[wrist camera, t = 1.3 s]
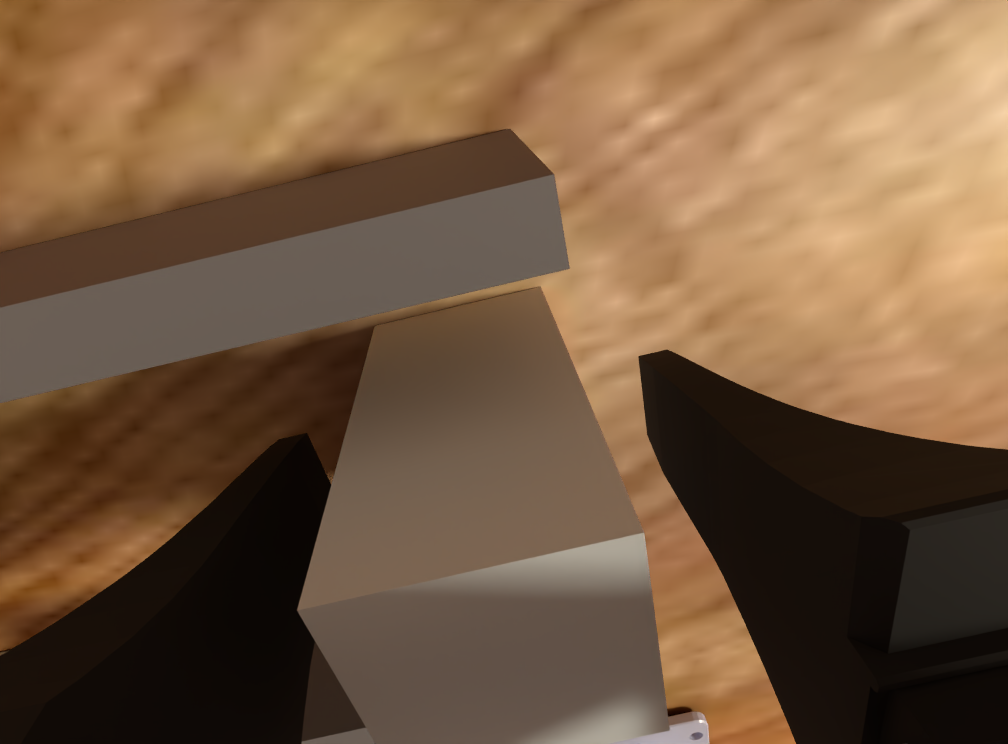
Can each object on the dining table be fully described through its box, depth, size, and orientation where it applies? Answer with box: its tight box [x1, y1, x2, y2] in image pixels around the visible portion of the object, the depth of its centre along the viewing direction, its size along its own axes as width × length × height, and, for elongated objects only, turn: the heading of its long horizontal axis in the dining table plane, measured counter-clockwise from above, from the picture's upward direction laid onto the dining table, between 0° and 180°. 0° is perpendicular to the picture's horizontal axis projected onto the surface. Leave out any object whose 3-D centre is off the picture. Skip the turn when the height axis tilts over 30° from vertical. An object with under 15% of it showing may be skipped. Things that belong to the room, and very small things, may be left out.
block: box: [297, 287, 670, 744], centre depth 11 cm, size 4×4×8 cm
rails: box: [0, 129, 570, 744], centre depth 14 cm, size 18×21×6 cm
